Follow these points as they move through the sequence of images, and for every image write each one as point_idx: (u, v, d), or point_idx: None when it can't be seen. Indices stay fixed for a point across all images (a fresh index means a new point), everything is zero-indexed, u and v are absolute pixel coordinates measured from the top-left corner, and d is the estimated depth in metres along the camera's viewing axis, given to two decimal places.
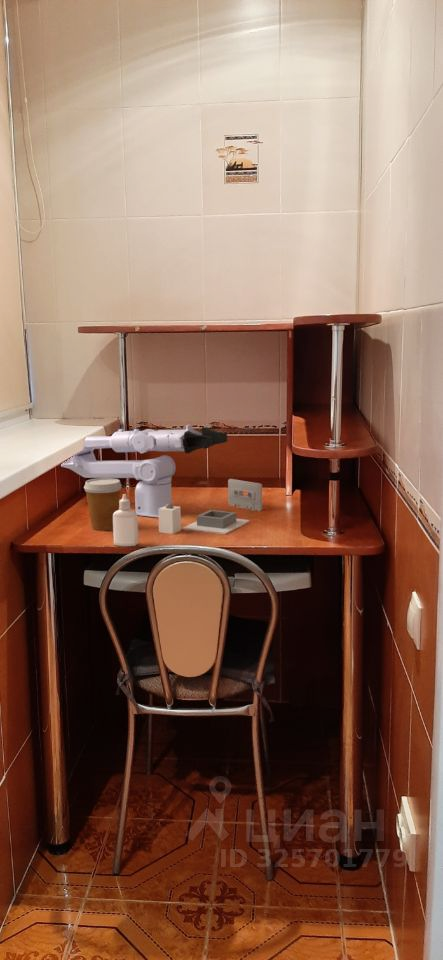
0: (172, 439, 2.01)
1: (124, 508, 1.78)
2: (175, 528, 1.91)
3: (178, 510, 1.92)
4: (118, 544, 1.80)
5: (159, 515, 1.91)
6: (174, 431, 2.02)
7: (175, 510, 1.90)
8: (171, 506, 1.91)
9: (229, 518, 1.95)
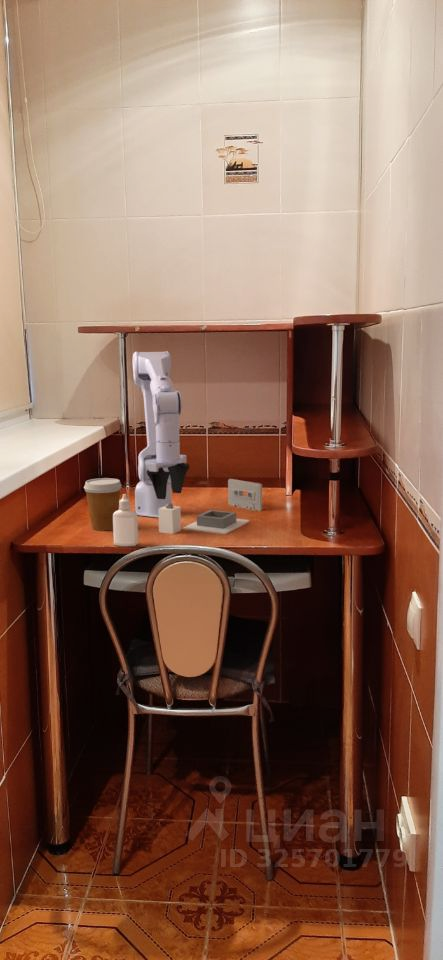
0: (164, 447, 1.86)
1: (124, 508, 1.78)
2: (175, 528, 1.91)
3: (178, 510, 1.92)
4: (118, 544, 1.80)
5: (159, 515, 1.91)
6: (173, 446, 1.86)
7: (175, 510, 1.90)
8: (171, 506, 1.91)
9: (229, 518, 1.95)
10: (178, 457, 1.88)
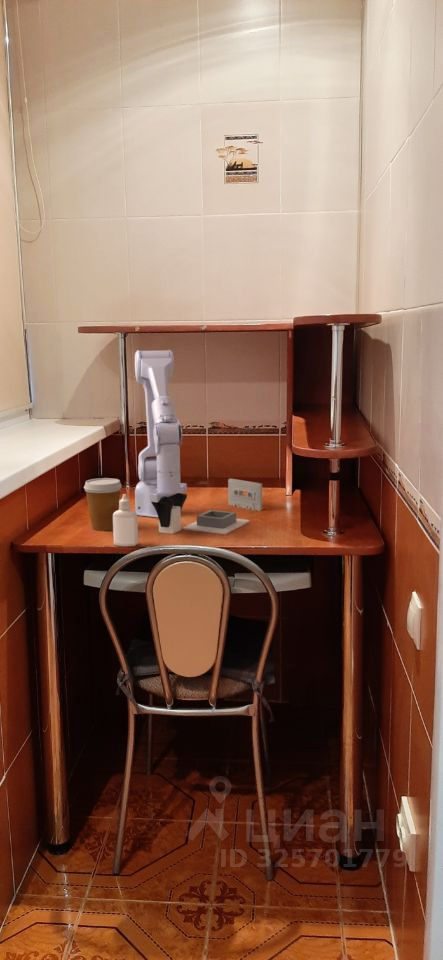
0: (164, 477, 1.87)
1: (124, 508, 1.78)
2: (175, 528, 1.91)
3: (178, 510, 1.92)
4: (118, 544, 1.80)
5: None
6: (174, 477, 1.88)
7: (175, 510, 1.90)
8: None
9: (229, 518, 1.95)
10: (179, 487, 1.89)
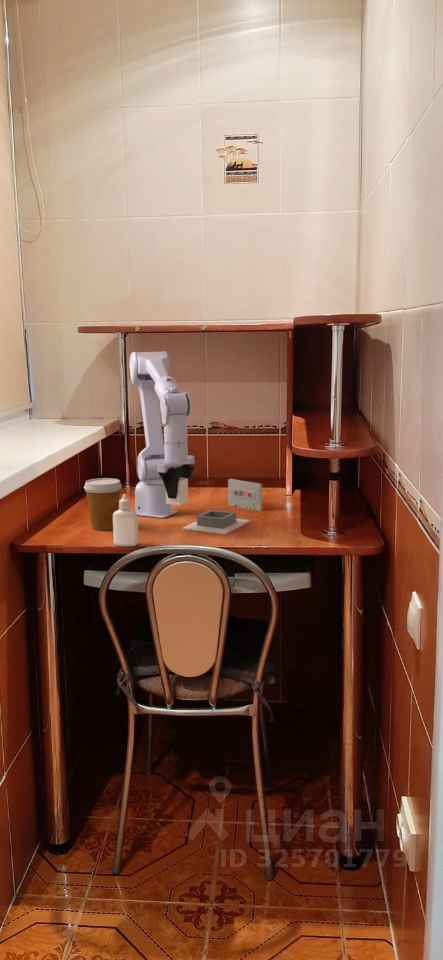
0: (172, 448, 1.87)
1: (124, 508, 1.78)
2: (182, 500, 1.90)
3: (185, 481, 1.91)
4: (118, 544, 1.80)
5: None
6: (181, 447, 1.87)
7: (182, 481, 1.90)
8: None
9: (229, 518, 1.95)
10: (186, 458, 1.89)
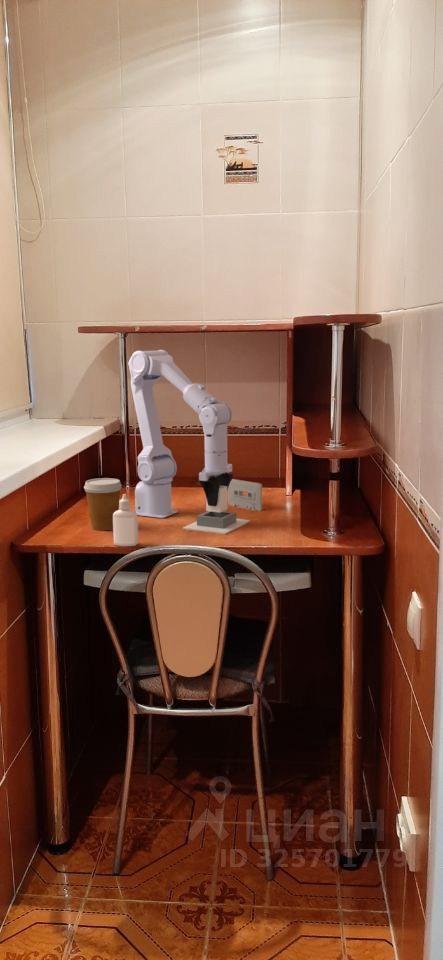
0: (212, 457, 1.92)
1: (124, 508, 1.78)
2: (222, 507, 1.95)
3: (225, 489, 1.96)
4: (118, 544, 1.80)
5: None
6: (222, 456, 1.92)
7: (222, 489, 1.95)
8: None
9: (229, 518, 1.95)
10: (226, 466, 1.94)
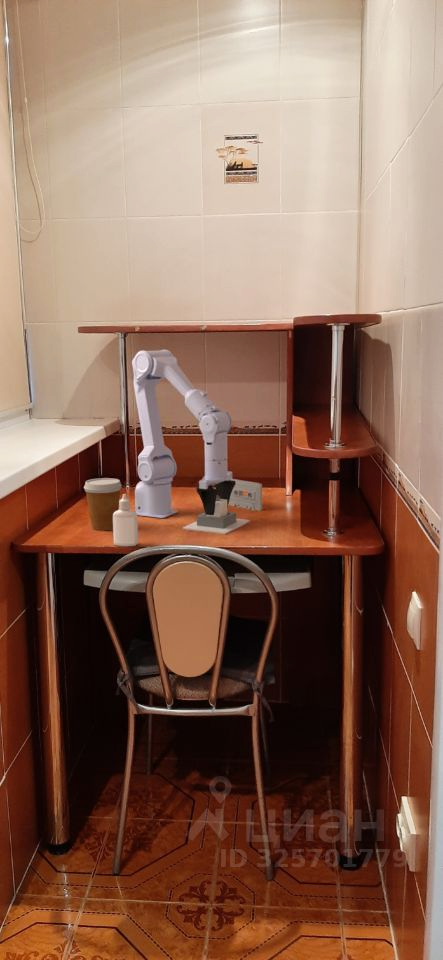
0: (213, 465, 1.92)
1: (124, 508, 1.78)
2: None
3: (225, 503, 1.97)
4: (118, 544, 1.80)
5: None
6: (222, 464, 1.92)
7: (222, 503, 1.95)
8: (218, 499, 1.96)
9: (229, 518, 1.95)
10: (226, 474, 1.94)
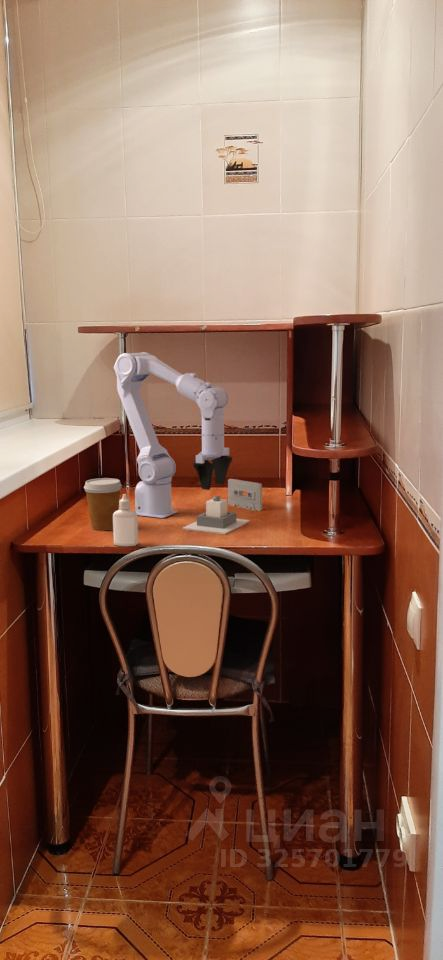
0: (209, 440, 1.95)
1: (124, 508, 1.78)
2: None
3: (225, 503, 1.97)
4: (118, 544, 1.80)
5: (207, 508, 1.96)
6: (218, 440, 1.95)
7: (222, 503, 1.95)
8: (218, 499, 1.96)
9: (229, 518, 1.95)
10: (222, 450, 1.97)
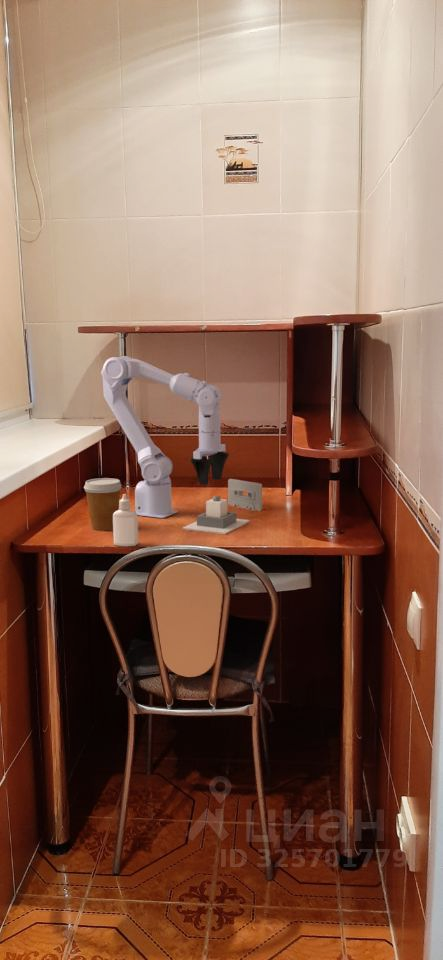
0: (206, 437, 2.01)
1: (124, 508, 1.78)
2: None
3: (225, 503, 1.97)
4: (118, 544, 1.80)
5: (207, 508, 1.96)
6: (215, 436, 2.01)
7: (222, 503, 1.95)
8: (218, 499, 1.96)
9: (229, 518, 1.95)
10: (219, 446, 2.03)
